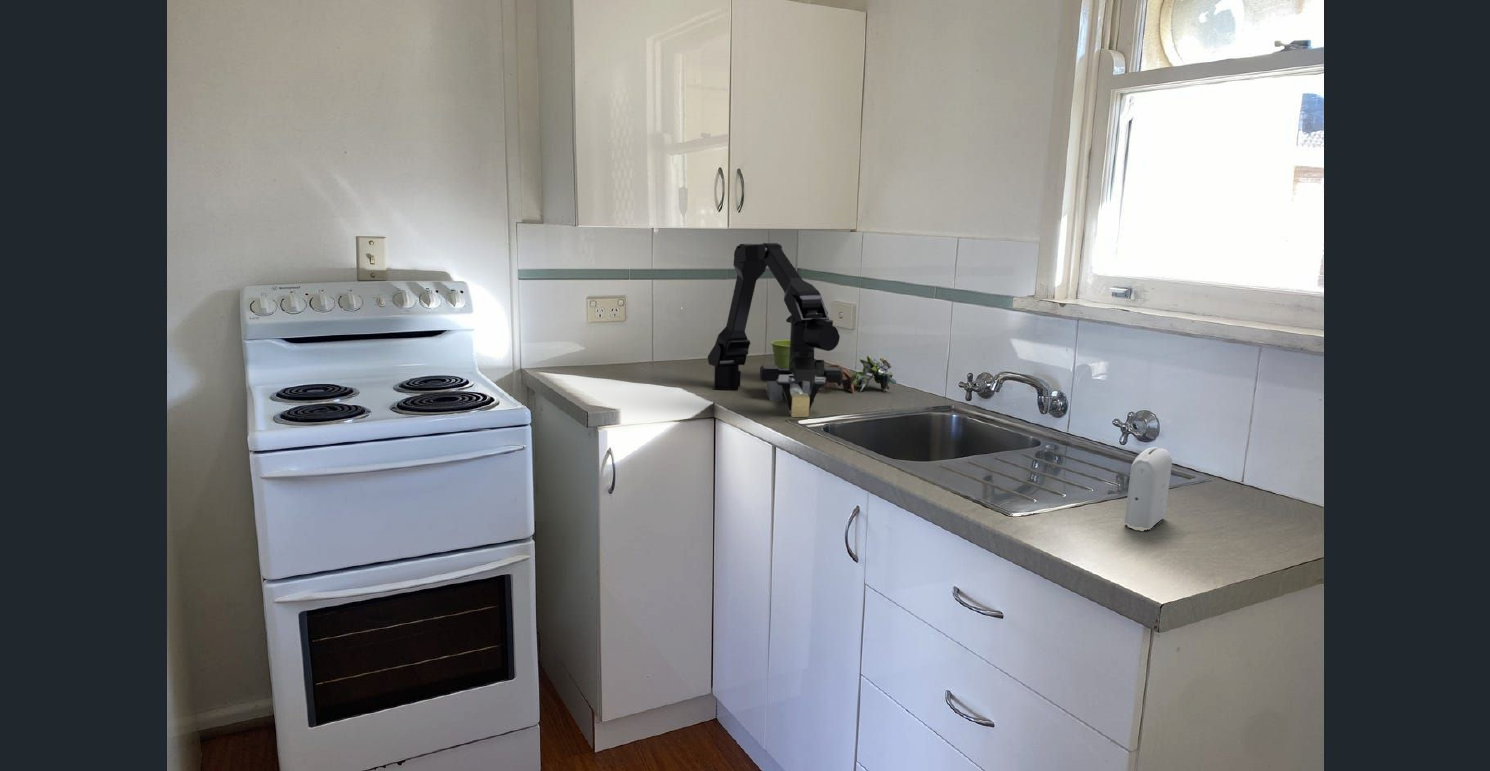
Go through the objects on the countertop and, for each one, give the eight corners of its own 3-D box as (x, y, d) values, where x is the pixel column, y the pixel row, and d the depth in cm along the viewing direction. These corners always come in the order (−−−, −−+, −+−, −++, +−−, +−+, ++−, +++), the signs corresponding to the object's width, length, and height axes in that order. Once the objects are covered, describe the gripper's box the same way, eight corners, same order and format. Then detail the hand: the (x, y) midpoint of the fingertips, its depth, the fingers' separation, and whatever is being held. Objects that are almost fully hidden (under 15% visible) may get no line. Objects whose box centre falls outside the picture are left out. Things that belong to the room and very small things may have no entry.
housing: (766, 391, 239) (767, 367, 238) (808, 392, 240) (809, 368, 239) (770, 400, 229) (771, 375, 227) (813, 401, 229) (815, 376, 228)
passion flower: (881, 410, 248) (907, 378, 242) (853, 406, 241) (879, 374, 235) (862, 380, 254) (887, 349, 248) (834, 376, 248) (858, 344, 241)
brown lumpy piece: (858, 397, 238) (845, 371, 235) (824, 411, 241) (812, 385, 237) (855, 378, 249) (843, 352, 246) (823, 390, 251) (810, 366, 248)
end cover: (783, 400, 228) (784, 382, 228) (800, 400, 229) (801, 382, 228) (790, 416, 211) (791, 397, 210) (809, 417, 212) (810, 397, 211)
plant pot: (805, 389, 244) (807, 347, 242) (763, 385, 248) (764, 344, 246) (816, 381, 255) (818, 341, 253) (776, 378, 259) (777, 338, 257)
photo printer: (1148, 534, 142) (1158, 457, 140) (1120, 527, 145) (1129, 452, 143) (1168, 518, 150) (1177, 445, 148) (1141, 512, 153) (1150, 440, 150)
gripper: (764, 348, 202) (761, 417, 205) (848, 351, 203) (844, 419, 206) (760, 340, 213) (758, 406, 216) (840, 343, 214) (836, 408, 217)
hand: (799, 410), depth 214 cm, fingers closed on end cover, 4 cm apart
